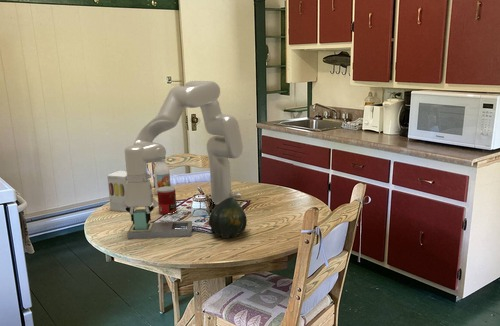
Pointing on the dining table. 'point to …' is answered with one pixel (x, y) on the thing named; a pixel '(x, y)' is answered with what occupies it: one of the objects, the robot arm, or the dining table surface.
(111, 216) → the dining table surface
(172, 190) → the canned food
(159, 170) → the milk bottle
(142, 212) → the peg
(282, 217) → the dining table surface
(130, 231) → the grey peg hole board
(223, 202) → the squash
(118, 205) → the supplement box
